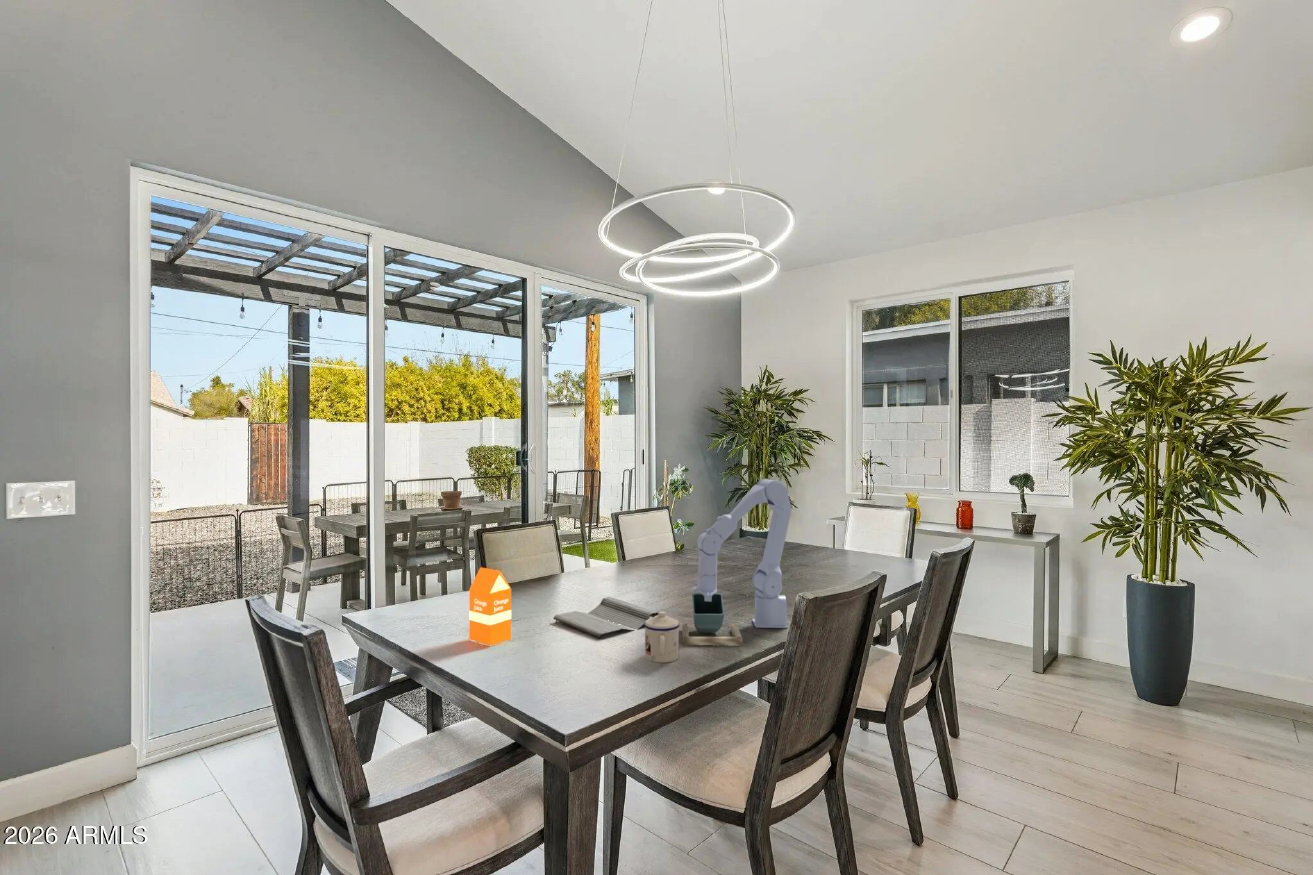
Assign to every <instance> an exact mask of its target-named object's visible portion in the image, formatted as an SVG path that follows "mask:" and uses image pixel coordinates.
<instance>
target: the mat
mask: <svg viewBox="0 0 1313 875" xmlns="http://www.w3.org/2000/svg"><path fill="white" fill-rule="evenodd" d="M657 615H658V611H656V610H653V609H650V608H649V609H648V608H646V607H643V606H641V605H637V604H634V603H630V602H628V601H624V600H621V599H618V598H615V597H612V596H606V597H603V598H602V599H601V601H600V603H599V604H598V605H597V606H596V607H595V608H593V609H592V610H591V611H589V612H583V611H576V610H575V611H569V612H564V613H559V614H555V615H554V616H553V620H555V623H556V624H558V622H560V623H563V624H565V625H567V626H570V627H571V628H575V629H577V630H580V631H581V632H583V633H586V634H589V635H591V636H594V637H595V638H597V639H598V640H599V639H601V637H602V636H605V635H608V634H611V633H612V634H613V633H615V632H619V631H623V630H624V631H632V632H634V631H635V630H636V629H637V630H639V629H641V628H642V627H643V626H644V624H645V621H646V620H648V619H650V617H651V618H653V617H655V616H657ZM608 620H609V621H608ZM613 622H614V623H613ZM618 624H621V625H618ZM632 628H633V629H632ZM637 630H636V631H637Z"/></svg>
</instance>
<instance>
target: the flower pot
mask: <svg viewBox="0 0 1313 875" xmlns="http://www.w3.org/2000/svg"><path fill="white" fill-rule="evenodd" d="M691 598H692V614H693V624H694V627H695V629H696V631H697V632H698V633H701V634H702V633H704V634H705V633H709V634H711V633H712V634H713V633H717V632H718V631H719V630H720V629H721V628H722V626H723V621H724V619H725V609H724V601H723V599H724V598H723V594H722V593H720V592H719V593H718V592H716V593H715V594H714V595H713V596H712V601H711V602H710V601H704V598H705V597H704V596H703V595H702V594H700V593H699V592H696V593H692V596H691Z"/></svg>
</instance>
